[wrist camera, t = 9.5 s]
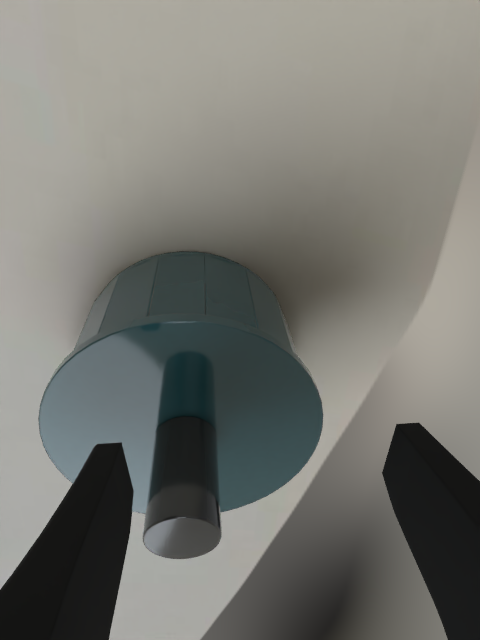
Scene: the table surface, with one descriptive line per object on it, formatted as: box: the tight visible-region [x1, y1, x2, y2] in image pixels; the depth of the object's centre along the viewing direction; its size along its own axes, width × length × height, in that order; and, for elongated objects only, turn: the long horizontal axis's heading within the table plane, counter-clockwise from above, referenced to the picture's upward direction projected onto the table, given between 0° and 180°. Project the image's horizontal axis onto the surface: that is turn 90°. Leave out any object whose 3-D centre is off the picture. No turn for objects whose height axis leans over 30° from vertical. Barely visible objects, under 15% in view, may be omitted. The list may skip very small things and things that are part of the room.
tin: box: [74, 251, 298, 356], centre depth 19 cm, size 10×10×6 cm
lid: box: [39, 313, 323, 559], centre depth 15 cm, size 11×11×5 cm
